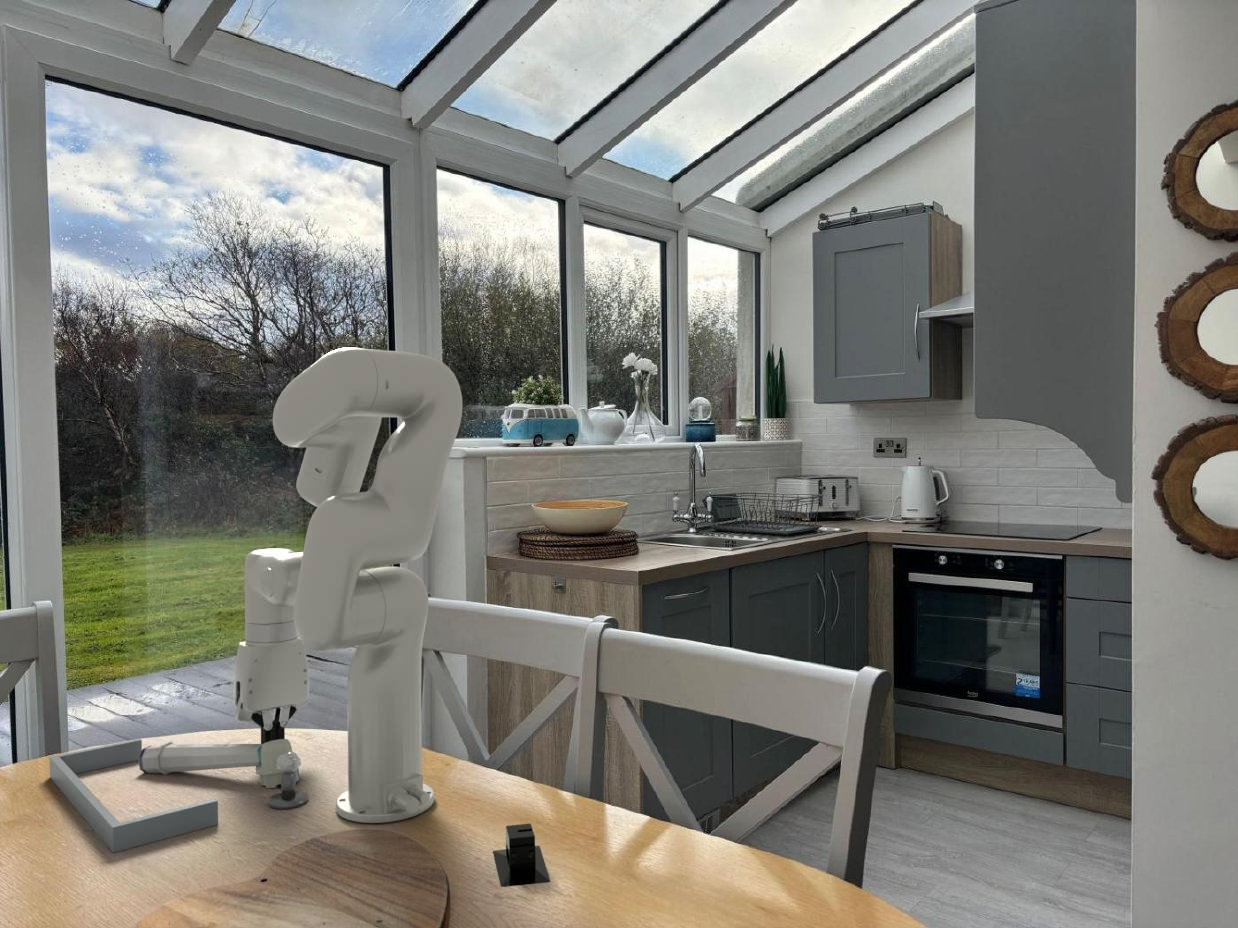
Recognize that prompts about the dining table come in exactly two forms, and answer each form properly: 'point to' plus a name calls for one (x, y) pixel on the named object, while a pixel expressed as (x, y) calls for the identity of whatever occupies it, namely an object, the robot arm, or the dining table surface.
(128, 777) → the dining table surface
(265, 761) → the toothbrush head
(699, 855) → the dining table surface
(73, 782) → the bay
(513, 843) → the black slotted block
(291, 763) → the ball stud
